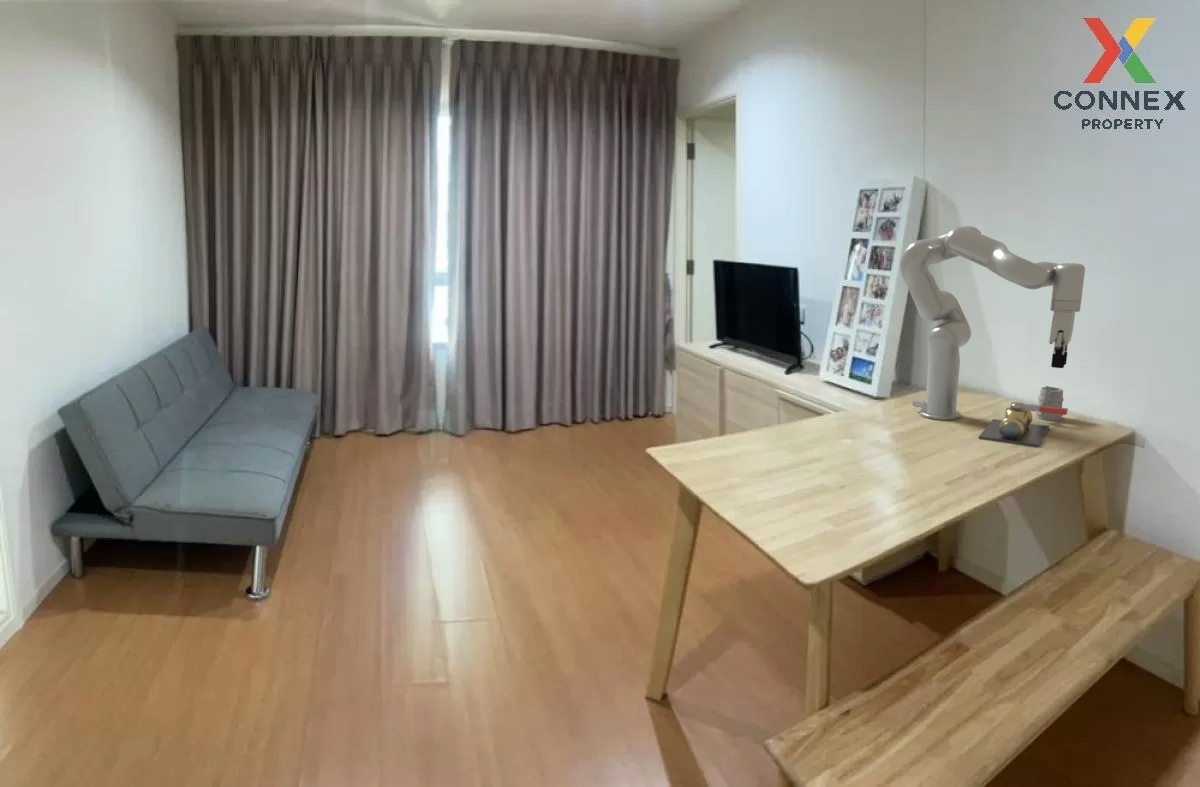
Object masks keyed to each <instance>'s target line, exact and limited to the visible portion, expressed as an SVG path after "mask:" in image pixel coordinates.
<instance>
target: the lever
mask: <svg viewBox="0 0 1200 787" xmlns="http://www.w3.org/2000/svg"><path fill="white" fill-rule="evenodd" d="M1010 407H1011V409H1013V410H1029V411H1030V412H1036V411H1038V412H1044V413H1053V414H1061V415H1063V416H1066V415H1067V414H1068V408H1067V407H1066V408H1065V407H1062V408H1059V407H1050V406H1039V405H1038V404H1029V403H1023V402H1017V401H1014V402H1010Z"/></svg>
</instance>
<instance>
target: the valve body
mask: <svg viewBox="0 0 1200 787" xmlns="http://www.w3.org/2000/svg"><path fill="white" fill-rule="evenodd" d="M1032 421H1033V414H1032V411H1029V410H1013V409H1011V406H1010V407H1006V408H1005V415H1004V419H997V418H993V419H992V420H991V421H990V422H989V423H988V425H987V426H986V427H985V428H984V429H983V431H982V432H981V433H980V434H979V435H978V439H979V440H985V441H986V440H987V441H991V440H992V442H993V441H994V442H1000V443H1006V444H1014V445H1021V446H1027V447H1036V448H1040V446H1041V444H1042V442H1043V441H1044V438H1045V437H1046V436H1047V433H1048V432H1049V430H1050V425H1043V424H1035V423H1032Z"/></svg>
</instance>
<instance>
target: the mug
mask: <svg viewBox="0 0 1200 787" xmlns="http://www.w3.org/2000/svg"><path fill="white" fill-rule="evenodd" d="M1039 391H1040V392H1039V395H1038V398H1037V399H1038V403H1037V405H1039V406H1050V407H1059V408H1063V402H1064V397H1063V396H1064V390H1063V388H1060V387H1055V386H1054V387H1053V386H1049V385H1045V386H1043V387H1040V390H1039ZM1035 414H1036V418H1037V419H1039V420H1042V421H1049V422H1051V421H1052V422H1054V421H1055V422H1056V421H1061V420H1062V417H1063V416H1064V415H1061V414H1053V413H1044V412H1038V411H1035Z"/></svg>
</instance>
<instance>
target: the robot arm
mask: <svg viewBox="0 0 1200 787" xmlns="http://www.w3.org/2000/svg"><path fill="white" fill-rule="evenodd" d="M956 257H962V258H963V259H966V260H968V261H971V262H973V263H974V264H978V265H979V266H981V267H984V268H987V269H988V270H989V271H991V272H992V273H994V274H995V275H997V276H998V277H1001V278H1002V279H1004V280H1006V281H1009V282H1011V283H1013V284H1015V285H1017V286H1020V287H1022V288H1024V289H1029V290H1037V289H1038V290H1039V289H1041V288H1045V287H1052V293H1051V300H1050V302H1051V303H1050V311H1051V312H1053V313H1052V314H1053V315H1052V318H1051V319H1052V320H1051V325H1050V327H1051V328H1050V334H1049V341H1048V343H1049V345H1052V344H1054V346H1053V352H1052V353H1053V354H1052V356H1051V365H1050V367H1051V368H1053V369H1054V368H1057V369H1064V367H1065V365H1067V361H1068V360H1067V358H1068V346H1069V344H1070V342H1071V341H1072V336H1073V333H1074V332H1073V330H1074V325H1075V317H1076V313H1078V312H1081V306H1082V300H1083V299H1082V297H1083V290H1084V289H1083V288H1084V281H1085V273H1086V272H1085V271H1086V267H1085V265H1084V264H1081V263H1073V262H1072V263H1070V262H1069V263H1068V262H1067V263H1056V262H1050V261H1049V262H1048V261H1039V262H1033V261H1030V260H1027V259H1025V258H1022V256H1021V257H1020V256H1018V255H1016V254H1014V253H1013V252H1011V251H1010V250H1009V249H1008V247H1007V245H1006V244H1004V242H1001V241H999V240H997V239H994V238H992V237H989V236H987V235H984V234H982V232H981V231H980V229H978V228H977V227H975V226H972V225H964V226H957V227H954V228H952V229H951V230H949V232H948V233H945V234H942V235H939V236H935V237H931V238H925V239H924V238H923V239H919V240H916V241H914V242H912V243H911V244H910V245H909V246H907V247H906V249H905V250H904V252H903V253H902V255H901V258H900V263H899V268H900V272H901V275H902V279H903V281H904V282H905V283H904V284H905V285H906V287H907V289H908V291H909V293H910V296H911V298H912V300H913V303H914V305H915V307H916V309H917V311H918V313H919V316H920V317H921V318H922V319H923V320H924V321H926V322H931V323H933V322H935V326H934V327H933V328H932V329H931V330H930V332H929V333H928V336H927V337H928V338H927V349H928V351H927V352H928V366H927V376H926V377H927V380H926V391H925V392H926V394H925V396H926V397H925V400H922V401H920V400H915V399H913V400H912V406H913V407H914V408H921V409H920V410H919V415H921V417H924V418H927V419H932V420H941V421H949V420H950V421H953V420H958V419H960V418H961V416H962V413H961V412H960V411H959V410H957V405H958V404H957V403H958V394H959V393H958V390H959V378H960V360H961V359H960V348H961V347H963V346H965V345H966V344H967V343H968V342H969V341H970V339H971V335H972V329H971V327H970V324H969V322H968V320H967V318H966V316H965V313H964V311H963V308H962V307H961V305H960V303H959V300H958V299H957V297H956V296H955V295H954V294H952V293H951V292H949V291H947V290H940V288H939V286H938V284H937V282H936V279H935V277H934V275H932V273H931V272H930V270H929V268H928V266H929V265H934V264H938V263H942V262H945V261H947V260H950V259H953V258H954V259H955V258H956Z"/></svg>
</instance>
